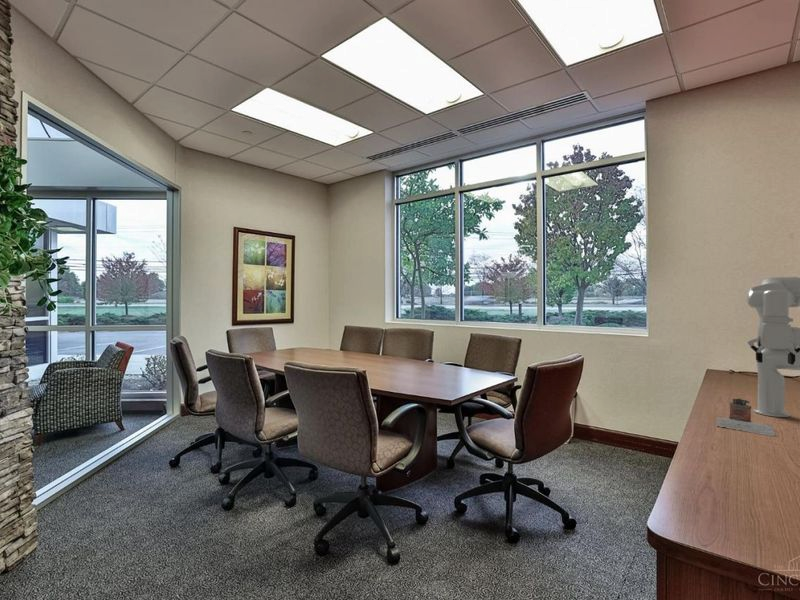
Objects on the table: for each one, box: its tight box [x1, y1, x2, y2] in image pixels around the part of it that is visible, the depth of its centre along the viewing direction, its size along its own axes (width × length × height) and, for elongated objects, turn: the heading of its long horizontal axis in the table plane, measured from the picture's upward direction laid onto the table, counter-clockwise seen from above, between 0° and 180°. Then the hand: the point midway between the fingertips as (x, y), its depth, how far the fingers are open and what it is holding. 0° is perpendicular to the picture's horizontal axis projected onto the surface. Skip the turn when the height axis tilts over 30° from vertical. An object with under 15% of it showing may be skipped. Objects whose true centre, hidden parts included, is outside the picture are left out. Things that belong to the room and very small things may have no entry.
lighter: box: [728, 397, 752, 422], centre depth 178 cm, size 8×3×10 cm, turn 25°
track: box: [716, 416, 776, 437], centre depth 168 cm, size 12×18×2 cm, turn 51°
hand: (775, 363), depth 160 cm, fingers open, 9 cm apart
